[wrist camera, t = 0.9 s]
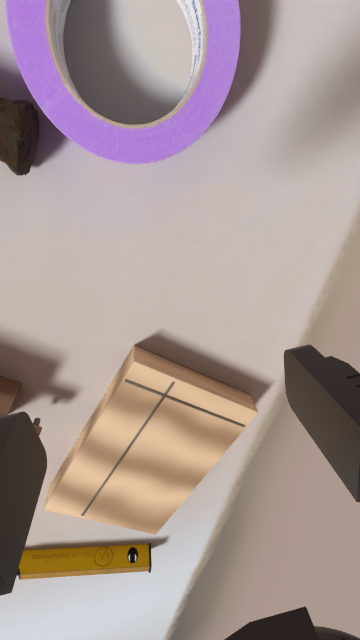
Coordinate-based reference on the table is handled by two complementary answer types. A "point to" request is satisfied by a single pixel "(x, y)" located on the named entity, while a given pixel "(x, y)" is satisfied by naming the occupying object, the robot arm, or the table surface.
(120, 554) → the spirit level
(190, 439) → the oak board
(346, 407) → the robot arm
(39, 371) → the table surface
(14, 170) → the hand tool
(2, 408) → the tan peg block
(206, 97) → the masking tape
